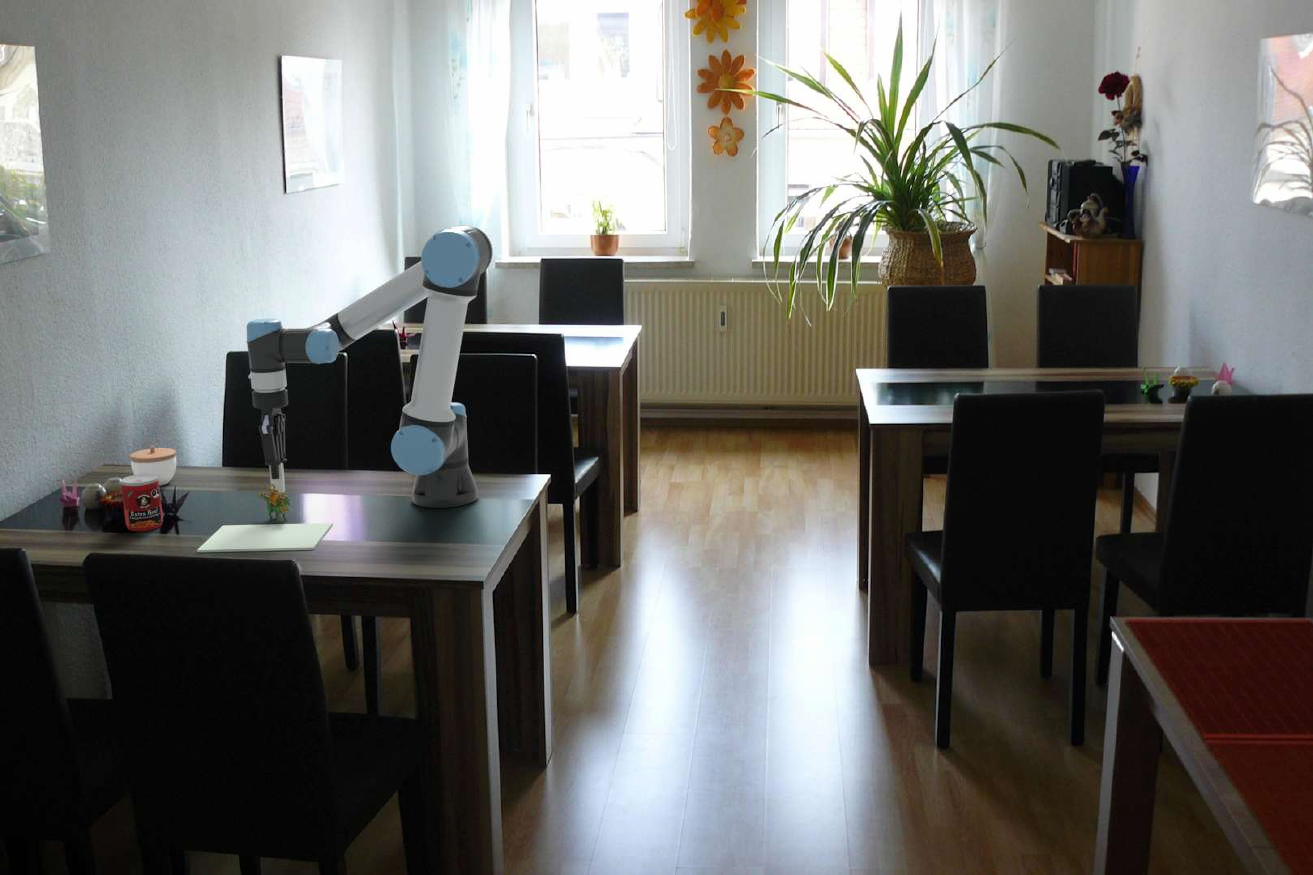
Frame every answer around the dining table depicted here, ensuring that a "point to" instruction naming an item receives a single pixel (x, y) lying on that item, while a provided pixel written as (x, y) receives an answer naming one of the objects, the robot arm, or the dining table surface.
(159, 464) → the lidded jar
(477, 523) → the dining table surface
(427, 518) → the dining table surface
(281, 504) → the figurine
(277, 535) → the mat
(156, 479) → the canned food
